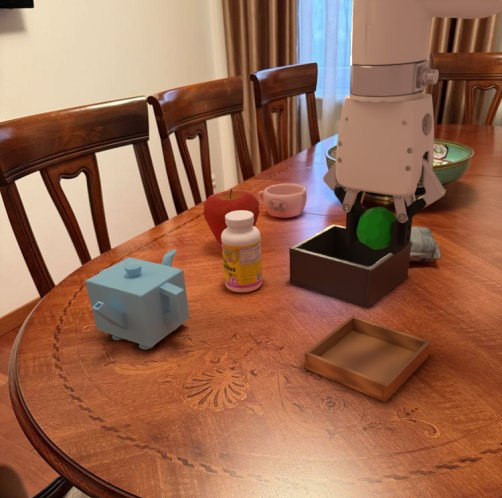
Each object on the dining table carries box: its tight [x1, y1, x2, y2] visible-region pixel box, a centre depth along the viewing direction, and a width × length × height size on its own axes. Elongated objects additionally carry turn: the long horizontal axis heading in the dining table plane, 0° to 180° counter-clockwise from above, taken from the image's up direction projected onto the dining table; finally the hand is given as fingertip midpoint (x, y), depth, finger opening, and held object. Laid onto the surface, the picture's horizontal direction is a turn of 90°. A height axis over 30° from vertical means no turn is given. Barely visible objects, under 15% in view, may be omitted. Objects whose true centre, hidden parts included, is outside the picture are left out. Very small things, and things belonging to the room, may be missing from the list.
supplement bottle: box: [221, 210, 263, 293], centre depth 88 cm, size 7×7×13 cm
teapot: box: [84, 248, 191, 350], centre depth 77 cm, size 16×18×11 cm
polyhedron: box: [357, 206, 397, 250], centre depth 62 cm, size 5×5×5 cm
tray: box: [304, 315, 431, 403], centre depth 69 cm, size 12×12×2 cm
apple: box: [203, 188, 260, 246], centre depth 103 cm, size 11×11×12 cm
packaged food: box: [409, 226, 442, 263], centre depth 97 cm, size 9×12×5 cm
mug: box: [256, 183, 308, 219], centre depth 120 cm, size 12×10×6 cm
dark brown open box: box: [288, 223, 412, 309], centre depth 89 cm, size 16×14×7 cm
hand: (376, 244), depth 63 cm, fingers closed on polyhedron, 5 cm apart
